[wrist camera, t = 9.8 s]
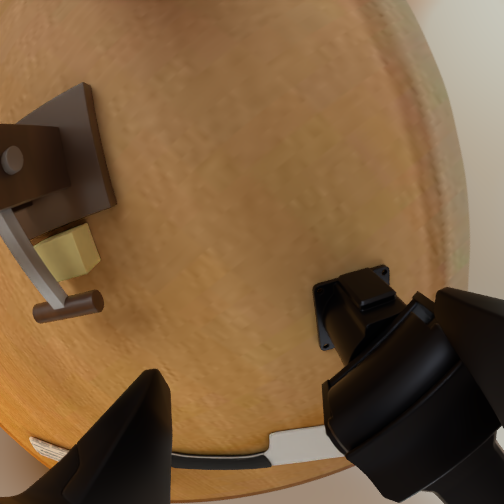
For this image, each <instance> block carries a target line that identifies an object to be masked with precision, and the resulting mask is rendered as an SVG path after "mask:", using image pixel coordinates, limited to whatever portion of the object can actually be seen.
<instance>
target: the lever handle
mask: <svg viewBox="0 0 504 504" xmlns="http://www.w3.org/2000/svg"><path fill="white" fill-rule="evenodd" d="M0 236H1V237H2V239H3V240H4V242H5V244H6V245H7V247H8V248H9V250H10V251H11V253H12V255H13V256H14V258H15V259H16V260H17V262H18V263H19V265H20V266H21V268H22V269H23V271H24V272H25V273H26V275H27V276H28V277H29V279H30V280H31V281H32V283H33V284H34V285H35V287H36V288H37V289H38V291H39V292H40V293H41V294H42V296H43V297H44V298H45V299H46V301H47V302H43V303H39V304H36V305H35V306H34V307H33V317H34V319H35V320H36V322H38V323H40V324H41V323H47V322H52V321H57V320H63V319H68V318H73V317H78V316H83V315H88V314H93V313H98V312H101V311H102V310H103V308H104V300H103V297H102V295H101V293H100V292H99V291H98V290H92V291H87V292H83V293H79V294H75V295H71V296H68V295H67V294H66V293H65V291H64V290H63V289H62V287H61V286H60V285H59V283H58V282H57V281H56V279H55V278H54V277H53V275H52V274H51V272H50V271H49V270H48V268H47V267H46V265H45V264H44V262H43V261H42V259H41V258H40V256H39V255H38V253H37V252H36V250H35V249H34V247H33V245H32V244H31V242H30V241H29V239H28V237H27V236H26V234H25V232H24V231H23V229H22V227H21V226H20V224H19V222H18V220H17V219H16V217H15V215H14V213H13V211H12V209H8V210H6V211H3V212H1V213H0Z"/></svg>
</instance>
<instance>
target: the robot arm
mask: <svg viewBox="0 0 504 504" xmlns="http://www.w3.org/2000/svg"><path fill="white" fill-rule="evenodd" d="M384 269H385V270H384ZM383 270H384V272H383V273H382V271H383ZM318 289H322V290H321V291H320V292H317V291H318ZM312 291H313V299H314V306H315V314H316V322H317V330H318V338H319V346H320V348H321V350H323V351H326V350H329V349H333V348H335V349H336V351H337V353H338V354H339V356H340V358H341V360H342V362H343V364H344V366H345V367H344V368H343V369H342V370H341V371H340V372H338V373H337V374H336V375H335V376H334V377H332V378H331V379H330V380H327V381H325V382H324V383H323V384H322V395H323V411H324V425H325V431H326V435H327V436H328V437H329V438H330V440H331V442H332V443H333V445H334V446H335V447H336V448H337V449H338V450H339V452H341V453H342V454H343V455H344V456H345V457H346V459H347V460H349V461H350V462H351V463H353V464H354V465H356V466H357V467H358V468H359V469H360V470H361V471H362V472H363V473H364V474H366V475H367V476H368V478H369V479H370V480H371V481H372V482H373V484H374V485H375V487H376V488H377V489H378V490H379V492H380V493H381V494H382V496H383V497H385V498H387V499H390V500H393V501H395V502H398V503H400V502H403V501H405V500H406V499H408V498H410V497H411V496H413V495H415V494H416V493H418V492H420V491H427V492H433V493H434V494H435V495H437V496H438V497H439V499H441V501H442V502H443V503H444V504H504V450H503V449H502V447H501V446H500V445H499V443H498V442H497V441H496V433H497V430H498V429H499V428H500V427H501V426H503V428H504V300H501V299H497V298H492V297H488V296H484V295H480V294H476V293H471V292H467V291H463V290H459V289H454V288H450V287H445V288H443V289H441V290H439V291H438V292H437V293H436V299H435V303H434V302H433V301H431V300H430V299H428V298H427V297H426V296H424V295H423V294H421V293H420V292H418V291H417V292H416V294H415V295H414V296H413V297H412V298H413V299H412V300H411V302H410V303H409V304H408V305H406V304H405V303H404V302H403V301H402V300H401V299H400V298H399V297H397V296H396V292H395V291H394V290H393V289H392V288H391V287H390V286H389V268H388V267H387V266H386V265H379V266H376V267H373V268H365V269H361V270H358V271H354V272H351V273H348V274H344V275H341V276H339V277H338V278H335V279H332V280H328V281H325V282H321V283H318V284H316V285H315V286H314V287H313V290H312ZM325 344H327V345H325ZM324 345H325V346H324ZM171 456H172V416H171V393H170V388H169V386H168V384H167V383H166V381H165V379H164V378H163V376H162V374H161V373H160V371H159V370H158V369H149V370H145V371H143V372H142V373H141V375H140V376H139V377H138V378H137V379H136V380H135V381H134V382H133V383H132V384H131V385H130V386H129V387H128V389H127V390H126V391H125V392H124V393H123V394H122V395H121V396H120V397H119V398H118V399H117V400H116V401H115V403H114V404H113V405H112V406H111V407H110V408H109V409H108V410H107V411H106V412H105V413H104V414H103V415H102V416H101V418H100V419H99V420H98V421H97V422H96V423H95V424H94V425H93V426H92V427H91V428H90V429H89V430H88V431H87V433H86V434H85V435H84V436H83V437H82V438H81V439H80V440H79V441H78V442H77V444H75V445H74V446H73V447H72V449H71V450H70V451H69V452H68V453H67V454H66V455H65V456H64V457H63V458H62V459H61V460H60V461H59V462H58V463H57V464H56V465H55V466H53V467H52V468H51V469H50V470H49V471H48V472H47V473H46V474H44V475H43V476H42V477H41V478H40V479H39V480H38V481H36V482H35V483H34V484H33V485H32V486H30V487H29V488H28V489H27V490H26V491H24V492H23V493H21V494H19V495H16V496H11V497H0V504H170V485H171Z"/></svg>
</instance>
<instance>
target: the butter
mask: <svg viewBox="0 0 504 504" xmlns="http://www.w3.org/2000/svg"><path fill="white" fill-rule="evenodd" d="M33 247H34V249H35V250H36V252H37V253H38V255H39V256H40V258H41V259H42V261H43V262H44V264H45V265H46V267H47V268H48V270H49V271H50V272H51V274H52V275H53V277H54V278H55V279H56V281H57V282H60V281H64V280H67V279H71V278H74V277H78V276H81V275H85V274H87V273H88V272H89V271H90V270H91V269H92V268H93V267H94V266H95V265H96V264H98V263H99V262H100V261H101V259H100V257H99V254H98V251H97V249H96V246H95V243H94V240H93V238H92V235H91V232H90V229H89V226H88V223H84V224H82V225H79V226H76V227H74V228H71V229H68V230H66V231H63V232H61V233H58V234H56V235H53V236H51V237H49V238H46V239H45V240H43V241H41V242H40V243H38V244H36V245H35V246H33Z"/></svg>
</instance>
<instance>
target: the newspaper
mask: <svg viewBox="0 0 504 504" xmlns="http://www.w3.org/2000/svg"><path fill="white" fill-rule="evenodd" d="M29 439H30V442H31V444H32V445H33V447H34V448H35V450H36V451H38V452H39V453H40V454H41V455H43V456H46V457H48V458H51V459H54V460H56V461H60V460H61V459H62V458H63V457H64V456H65V455H66V454H67V453H68V452H69V451H70V450H67V449H64V448H61V447H58V446H55V445H52V444H50V443H47V442H44V441H42V440H39V439H37V438H34V437H30V438H29Z"/></svg>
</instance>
